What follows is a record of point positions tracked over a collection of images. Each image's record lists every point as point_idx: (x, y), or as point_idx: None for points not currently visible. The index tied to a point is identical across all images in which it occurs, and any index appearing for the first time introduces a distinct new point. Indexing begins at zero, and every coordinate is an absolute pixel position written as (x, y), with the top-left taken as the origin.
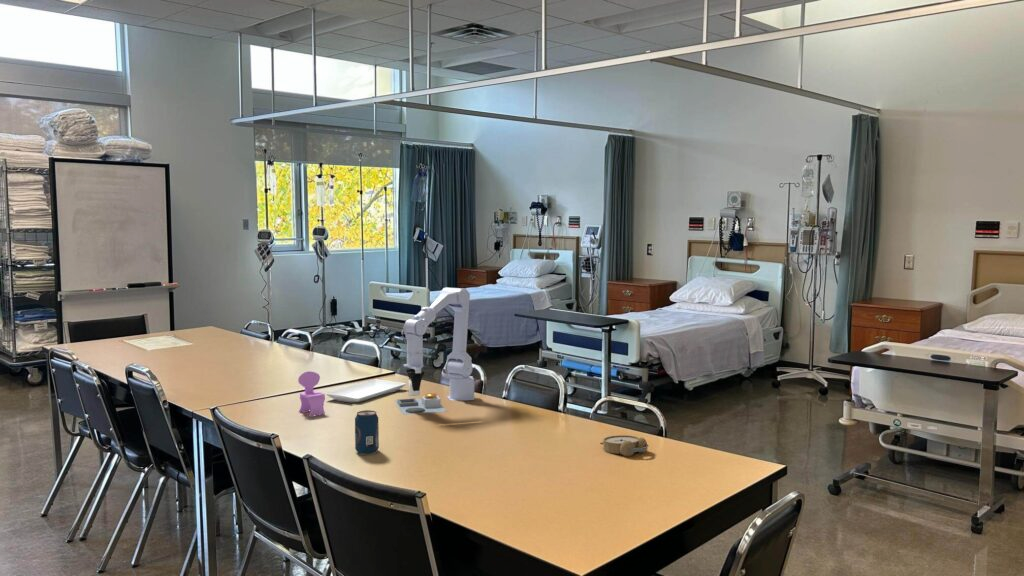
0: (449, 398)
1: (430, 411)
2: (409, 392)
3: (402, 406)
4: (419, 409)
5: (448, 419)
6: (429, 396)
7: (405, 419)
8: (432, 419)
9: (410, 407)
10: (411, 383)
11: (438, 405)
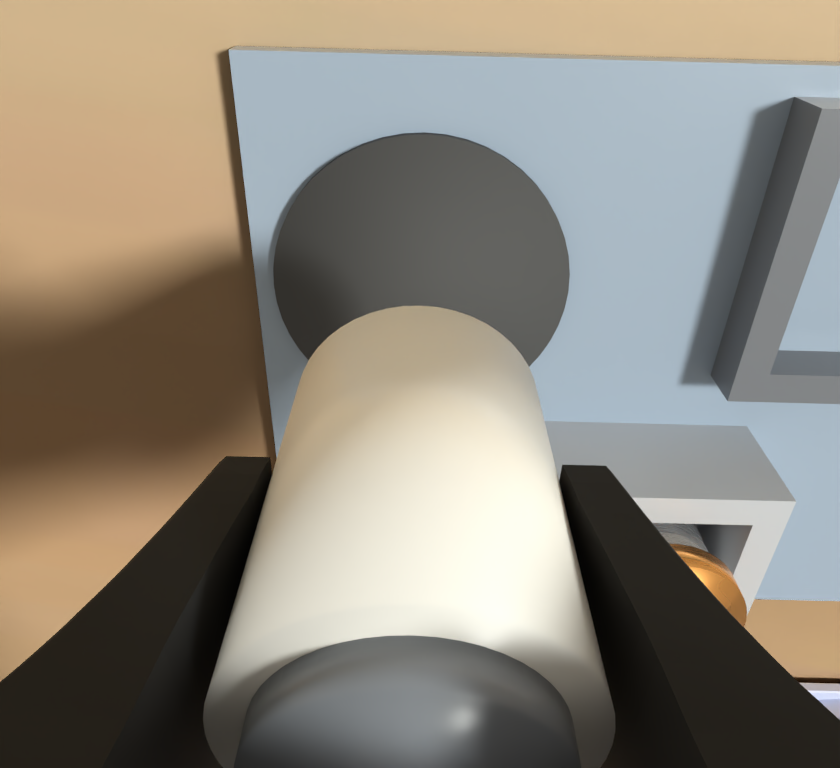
0: (828, 694)
1: None
2: (360, 351)
3: (780, 143)
4: None
5: (13, 534)
6: None
7: (8, 41)
8: (12, 397)
9: (651, 256)
10: (259, 577)
11: None
